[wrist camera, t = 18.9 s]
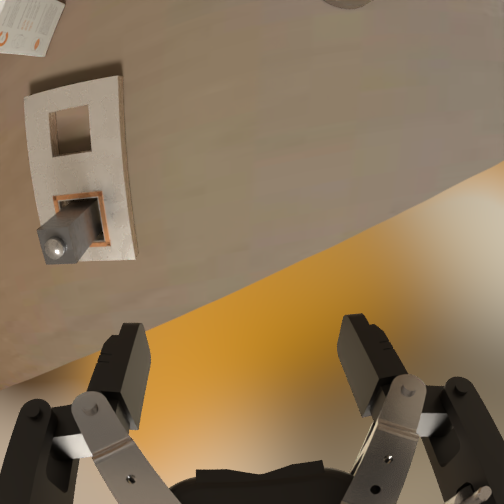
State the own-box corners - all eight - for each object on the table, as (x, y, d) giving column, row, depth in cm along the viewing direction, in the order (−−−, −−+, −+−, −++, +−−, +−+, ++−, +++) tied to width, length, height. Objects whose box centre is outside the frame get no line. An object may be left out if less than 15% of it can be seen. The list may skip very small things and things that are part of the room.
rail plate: (31, 96, 31) (23, 97, 29) (123, 76, 32) (117, 75, 30) (55, 255, 42) (49, 262, 40) (138, 252, 43) (135, 260, 41)
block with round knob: (71, 201, 39) (33, 232, 29) (98, 198, 39) (64, 230, 29) (77, 230, 41) (43, 267, 31) (103, 228, 41) (74, 266, 31)
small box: (33, 2, 25) (-21, -16, 13) (66, 4, 26) (15, -20, 14) (13, 54, 28) (-46, 51, 16) (45, 58, 29) (-14, 52, 18)
